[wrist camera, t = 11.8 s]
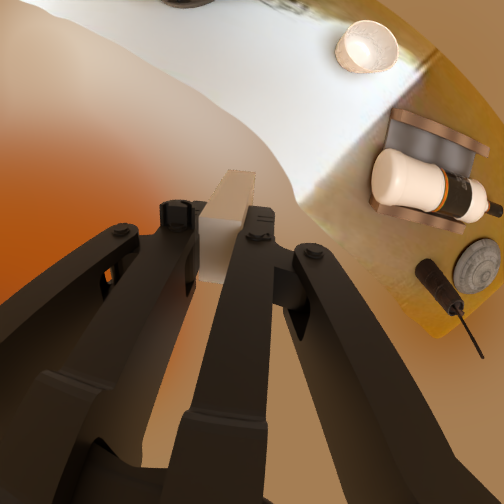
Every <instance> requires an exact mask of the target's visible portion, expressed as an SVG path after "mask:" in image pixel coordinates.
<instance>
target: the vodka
mask: <svg viewBox="0 0 504 504" xmlns="http://www.w3.org/2000/svg"><path fill="white" fill-rule="evenodd" d="M371 185H372V192H373V195H374V198H375V199H376V201H377V202H379V203H380V204H383V205H388V206H392V205H399V206H407V207H413V208H417V209H421V210H423V211H425V212H430V211H431V212H435V213H439V214H442V215H446V216H450V217H453V218H455V219H456V220H461V221H463V222H467V223H472V222H476V221H478V220H479V219H480V218H481V217H482V215H483V214H484V213H487V214H490V215H493V216H496V217H501V216H502V215H503V207H502V206H501V205H499V204H496V203H493V202H491V201H488V200H487V196H486V192H485V189H484V187H483V186H482V184H481V183H480V182H478V181H477V180H475V179H470V178H468V177H465V176H462V175H460V174H457V173H454V172H452V171H449V170H446V169H443V168H440V167H438V166H437V165H435V164H429V163H425V162H422V161H419V160H417V159H414V158H412V157H409V156H407V155H405V154H403V153H402V152H400V151H398V150H395V149H392V148H389V149H385V150H383V151H382V152H381V153H380V154H379V156H378V157H377V159H376V161H375V164H374V167H373V172H372V181H371Z"/></svg>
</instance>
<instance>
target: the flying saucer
mask: <svg viewBox="0 0 504 504" xmlns="http://www.w3.org/2000/svg"><path fill="white" fill-rule="evenodd" d="M500 259H501V256H500V249H499V247H498V245H497V243H496V242H495V241H493V240H491V239H482V240H479V241H477V242H475V243H473V244H472V245H471V246H470V247H468V248H467V249H466V251H465V252H464V253H463V254H462V256H461V257H460V259H459V261H458V263H457V265H456V268H455V271H454V284H455V287H456V288H457V290H458V291H460V292H461V293H464V294H474V293H477V292H480V291H482V290H483V289H485V288H486V287H487V286H488V285H489V284H490V283H491V282H492V281H493V280H494V278H495V276H496V274H497V272H498V270H499V266H500Z"/></svg>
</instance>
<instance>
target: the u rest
mask: <svg viewBox="0 0 504 504" xmlns="http://www.w3.org/2000/svg"><path fill="white" fill-rule="evenodd" d="M389 148H392V149H395V150H398V151H400V152H402V153H403V154H405V155H407V156H409V157H412V158H414V159H417V160H419V161H422V162H425V163H429V164H435V165H437V166H438V167H440V168H443V169H446V170H449V171H452V172H454V173H457V174H460V175H462V176H465V177H468V178H469V176H470V172H471V169H472V165H473V161H474V157H475V154H476V153H477V154H480V155H482V156H484V157H487V158H488V155H489V151H490V148H489V147H487V146H485V145H483V144H481V143H479V142H478V141H476V140H474V139H472V138H470V137H467V136H465V135H463V134H461V133H459V132H457V131H455V130H453V129H450V128H448V127H446V126H444V125H441V124H439V123H437V122H434V121H432V120H429V119H427V118H424V117H422V116H419V115H416V114H414V113H411V112H408V111H406V110H403V109H396V108H392V110H391V115H390V120H389V124H388V129H387V134H386V138H385V142H384V147H383V150H385V149H389ZM369 203H370V205H371V206H372V207H373V208H374V210H375V211H376V212H377V213H380V214H384V215H389V216H393V217H397V218H401V219H405V220H409V221H413V222H417V223H421V224H425V225H429V226H433V227H436V228H440V229H444V230H448V231H451V232H455V233H458V234H462V235H463V232H464V230H465V227H466V225H465V224H464V223H463V222H461V221H460V220H456V219H455V218H453V217H450V216H446V215H442V214H439V213H435V212H431V211H430V212H425V211H423V210H421V209H417V208H413V207H407V206H399V205H392V206H388V205H383V204H380V203H379V202H377V201H376V199H375V198H374V195H373V192H372V193H371V197H370V200H369Z"/></svg>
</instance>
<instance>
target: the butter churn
mask: <svg viewBox="0 0 504 504" xmlns="http://www.w3.org/2000/svg"><path fill="white" fill-rule="evenodd" d="M415 275H416V277H417V278H418V279H419V280H420V282H421V283H422V284H423V285H424V286H425V287H426V289H427V290H428V291H429V292H430V293H431V294H432V295H433V297H434V298H435V300H436V301H438V303H439V304H440V305H441V306H442V307H443V309H444V310H445V311H446V312H447V313H448V315H450V316H454V315H458V317H459V318H460V320H461V322H462V323H463V325H464V327H465V329H466V330H467V332H468V334H469V336H470V338H471V340H472V342H473V343H474V345H475V347H476V349H477V351H478V353H479V355H480V357H481V358H482V359H484V356H483V354H482V352H481V350H480V349H479V346H478V345H477V343H476V341H475V339H474V337H473V336H472V334H471V332H470V330H469V329H468V327H467V325H466V323H465V322H464V320H463V318H462V316H463V315H464V312H463V311H462V310H463V309H464V302H463V300H462V299H461V297H460V296H459V294H458V293H457V292H456V290H455V289H454V288H453V286H452V284H451V283H450V282H449V281H448V279H447V278H446V277H445V276H444V275H443V272H442V271H441V270H440V269H439V268H438V267H437V265H436V264H435V263H434V262H433V261H432V260H431V259H425V260H422V261H421V262H420V263H419V264H418V265H417V267H416V270H415Z"/></svg>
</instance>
